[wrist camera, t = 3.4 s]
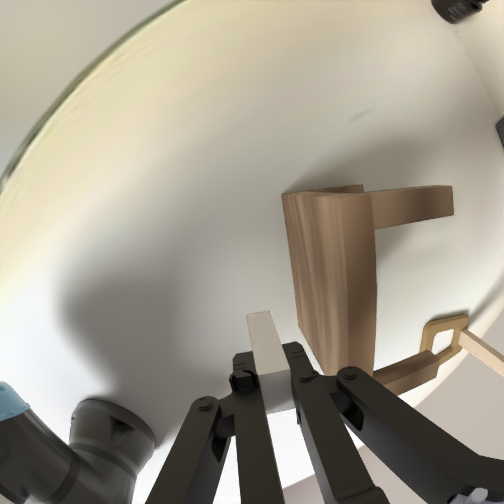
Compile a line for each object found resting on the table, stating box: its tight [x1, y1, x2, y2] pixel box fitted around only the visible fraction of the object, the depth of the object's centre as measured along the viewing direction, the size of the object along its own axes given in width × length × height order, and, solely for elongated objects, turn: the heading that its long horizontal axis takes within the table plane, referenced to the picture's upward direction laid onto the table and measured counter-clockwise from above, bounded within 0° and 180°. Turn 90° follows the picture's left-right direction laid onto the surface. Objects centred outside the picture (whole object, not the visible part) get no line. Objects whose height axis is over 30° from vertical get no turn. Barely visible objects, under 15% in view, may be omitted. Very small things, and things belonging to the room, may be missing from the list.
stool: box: [281, 185, 454, 396], centre depth 24 cm, size 9×16×16 cm, turn 9°
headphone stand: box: [419, 314, 504, 377], centre depth 26 cm, size 10×11×22 cm
